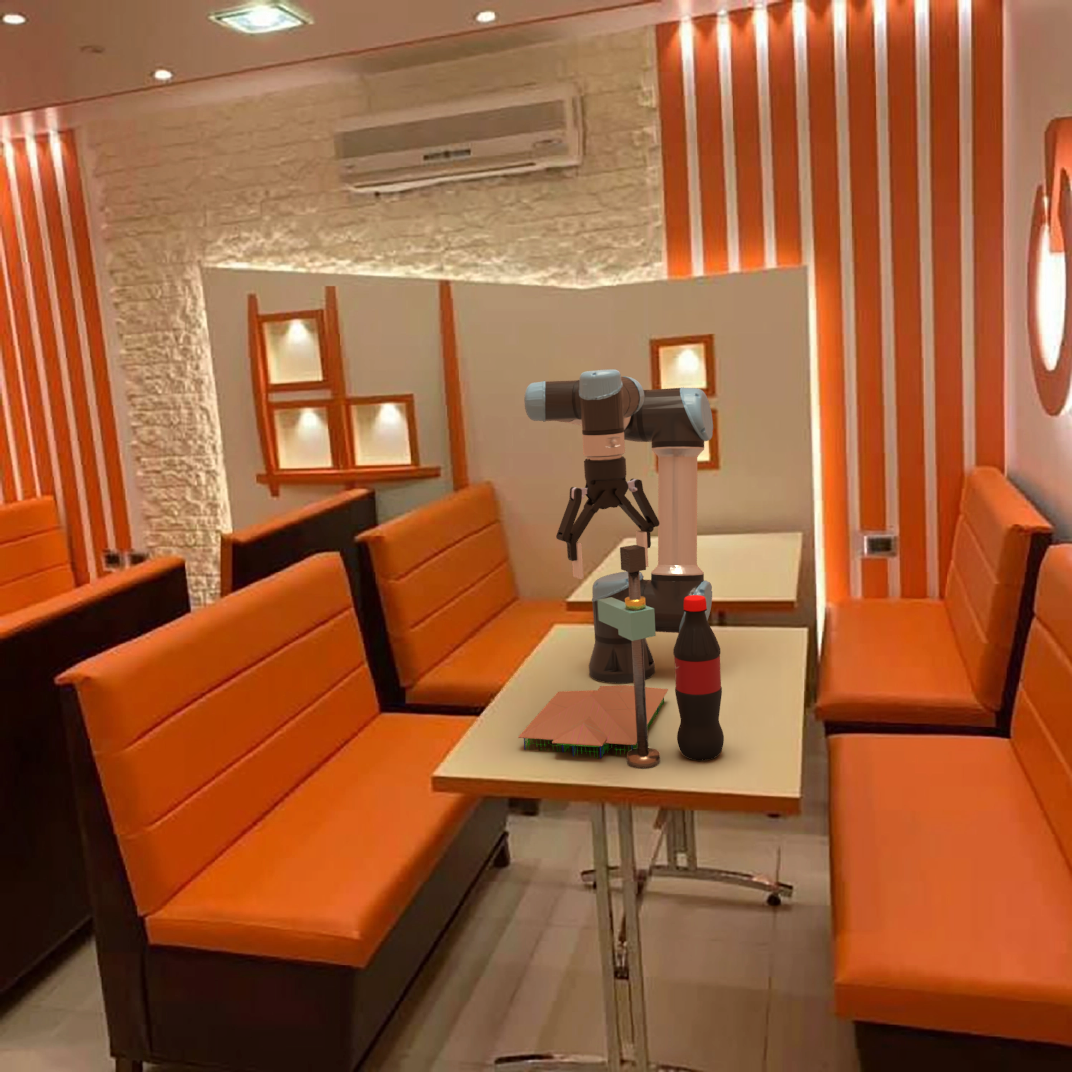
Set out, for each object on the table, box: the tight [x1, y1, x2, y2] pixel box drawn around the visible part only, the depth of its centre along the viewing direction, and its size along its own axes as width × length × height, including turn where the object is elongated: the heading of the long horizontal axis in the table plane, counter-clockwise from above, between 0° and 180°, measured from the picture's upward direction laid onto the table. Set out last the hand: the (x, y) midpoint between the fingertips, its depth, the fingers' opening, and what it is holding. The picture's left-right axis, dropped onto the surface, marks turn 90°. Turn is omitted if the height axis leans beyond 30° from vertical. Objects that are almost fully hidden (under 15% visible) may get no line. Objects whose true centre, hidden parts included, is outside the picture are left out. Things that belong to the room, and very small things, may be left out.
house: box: [517, 684, 669, 759], centre depth 208 cm, size 23×33×8 cm
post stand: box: [619, 544, 661, 769], centre depth 187 cm, size 6×6×40 cm
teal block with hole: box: [598, 597, 657, 641], centre depth 190 cm, size 14×5×5 cm, turn 25°
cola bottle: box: [672, 595, 725, 762], centre depth 189 cm, size 8×8×30 cm
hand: (611, 571), depth 192 cm, fingers open, 13 cm apart
